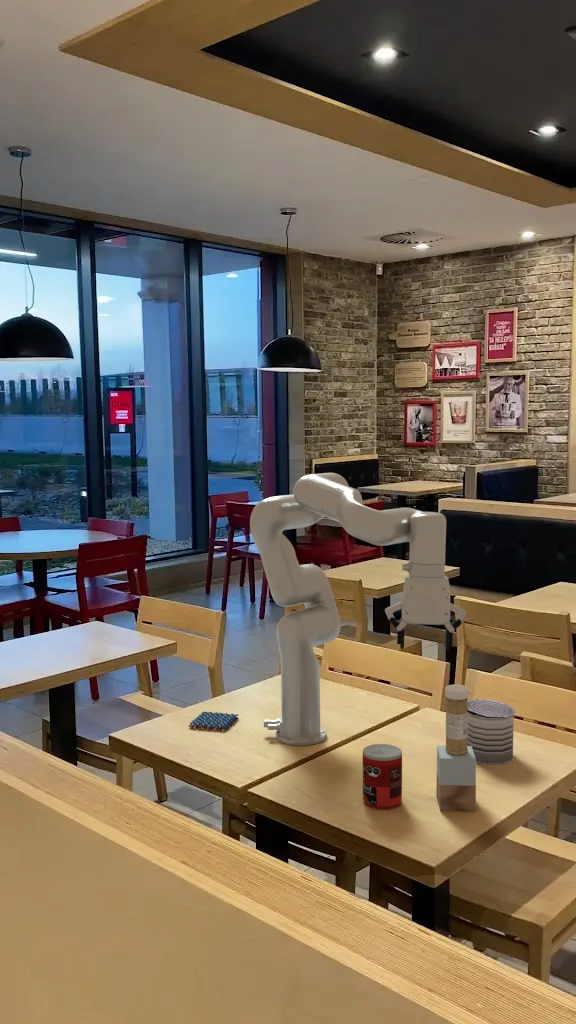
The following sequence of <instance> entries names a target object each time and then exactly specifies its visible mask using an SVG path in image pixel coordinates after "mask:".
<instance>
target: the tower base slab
mask: <svg viewBox="0 0 576 1024" xmlns="http://www.w3.org/2000/svg"><path fill="white" fill-rule="evenodd" d="M435 787H436V790H435V791H436V801H437V806H438V809H439V811H440V812H445V813H446V812H448V813H449V812H453V813H456V812H457V813H459V812H460V813H461V812H462V813H476V810H477V809H476V807H477V806H476V803H477V800H476V799H477V796H476V795H477V791H476V790H477V785H476V786H464V785H440V783H439V778H438V774H437V773H436V786H435Z"/></svg>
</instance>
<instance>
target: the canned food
mask: <svg viewBox="0 0 576 1024" xmlns="http://www.w3.org/2000/svg"><path fill="white" fill-rule="evenodd" d="M402 752H403V751H402V749H401V748H400V747H398V746H396V745H392V744H389V743H388V744H387V743H386V744H385V743H376V744H375V743H374V744H369V745H367V746H365V747H364V748H363V749H362V799H363V802H364V804H365V805H366V806H367V807H369V808H371V809H375V810H379V811H380V810H381V811H386V810H393V809H396V808H398V807H399V806H400V805H401V803H402V800H403V753H402Z"/></svg>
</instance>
